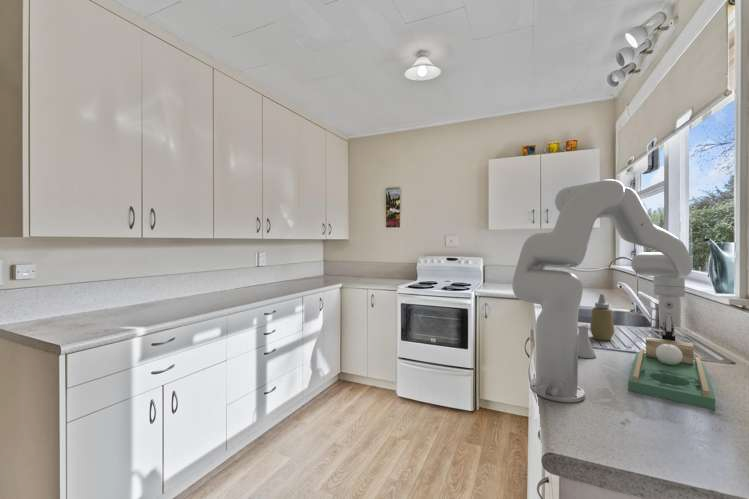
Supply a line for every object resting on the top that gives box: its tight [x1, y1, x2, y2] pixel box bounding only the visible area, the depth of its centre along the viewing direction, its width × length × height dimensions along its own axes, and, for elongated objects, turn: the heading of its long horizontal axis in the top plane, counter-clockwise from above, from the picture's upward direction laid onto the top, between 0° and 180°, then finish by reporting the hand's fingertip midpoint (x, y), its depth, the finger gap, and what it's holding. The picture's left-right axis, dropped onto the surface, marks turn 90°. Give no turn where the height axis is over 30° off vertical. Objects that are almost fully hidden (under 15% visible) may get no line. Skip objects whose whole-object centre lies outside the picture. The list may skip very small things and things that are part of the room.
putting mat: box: [627, 347, 716, 411], centre depth 93 cm, size 30×16×4 cm, turn 139°
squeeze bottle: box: [589, 293, 615, 342], centre depth 133 cm, size 8×8×18 cm
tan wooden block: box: [645, 336, 694, 364], centre depth 103 cm, size 4×11×5 cm, turn 49°
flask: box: [578, 325, 597, 359], centre depth 114 cm, size 7×7×10 cm
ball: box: [656, 344, 683, 365], centre depth 98 cm, size 6×6×6 cm
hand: (668, 347), depth 108 cm, fingers closed
